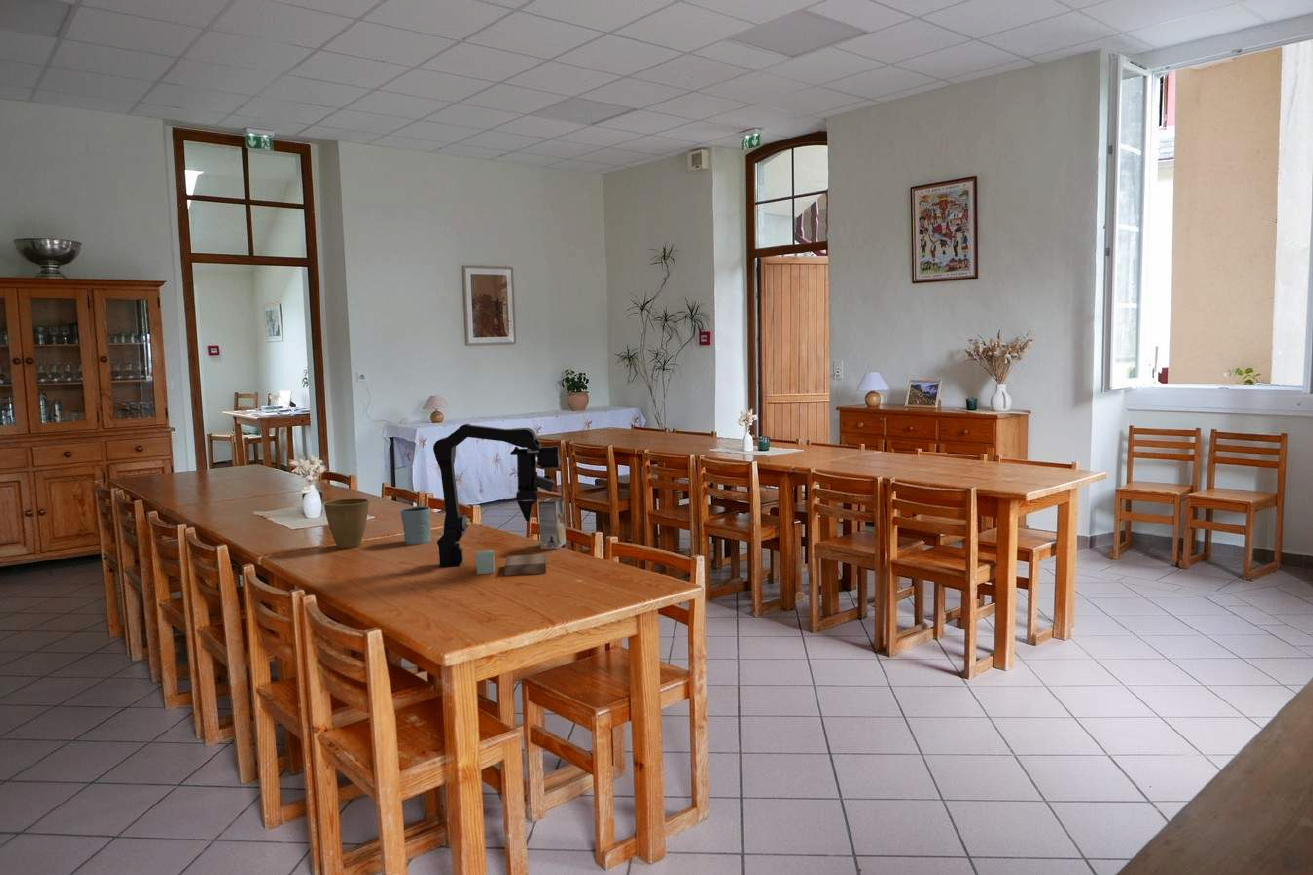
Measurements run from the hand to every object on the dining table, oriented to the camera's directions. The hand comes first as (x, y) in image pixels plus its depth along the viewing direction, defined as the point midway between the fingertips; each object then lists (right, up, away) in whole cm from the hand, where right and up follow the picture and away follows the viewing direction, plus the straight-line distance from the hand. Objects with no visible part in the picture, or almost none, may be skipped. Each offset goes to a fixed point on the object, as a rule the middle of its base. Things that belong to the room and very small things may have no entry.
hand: (528, 518), depth 273 cm
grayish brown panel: (+1, -15, -8) cm, 17 cm away
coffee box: (+5, -12, +22) cm, 26 cm away
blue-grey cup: (-44, -12, +36) cm, 58 cm away
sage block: (-11, -15, -10) cm, 21 cm away
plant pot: (-67, -13, +33) cm, 76 cm away
